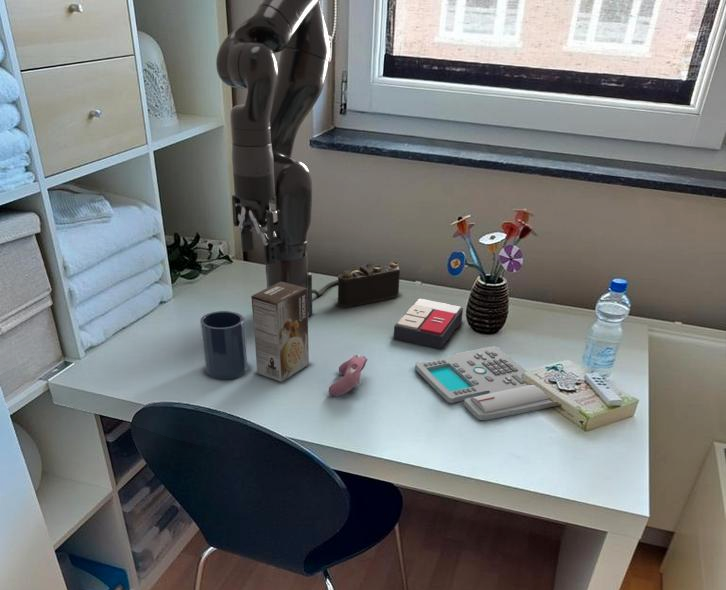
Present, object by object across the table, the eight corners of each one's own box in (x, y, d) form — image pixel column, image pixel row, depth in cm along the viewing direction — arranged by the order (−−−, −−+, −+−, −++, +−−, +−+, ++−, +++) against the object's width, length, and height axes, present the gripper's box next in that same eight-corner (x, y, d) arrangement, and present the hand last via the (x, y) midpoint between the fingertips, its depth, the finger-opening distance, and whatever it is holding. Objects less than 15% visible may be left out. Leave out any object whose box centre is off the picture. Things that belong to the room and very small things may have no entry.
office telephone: (565, 393, 126) (473, 414, 119) (562, 405, 127) (471, 426, 120) (496, 339, 142) (412, 355, 135) (494, 351, 144) (410, 366, 137)
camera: (387, 287, 170) (389, 255, 165) (402, 297, 165) (404, 264, 160) (329, 299, 163) (329, 266, 158) (343, 309, 158) (343, 275, 154)
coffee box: (284, 356, 139) (281, 279, 129) (309, 364, 136) (308, 287, 126) (255, 373, 133) (250, 294, 123) (281, 383, 130) (278, 303, 120)
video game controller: (346, 406, 127) (364, 378, 123) (325, 393, 126) (342, 365, 122) (357, 381, 135) (374, 354, 130) (337, 369, 134) (354, 342, 130)
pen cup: (233, 356, 138) (228, 307, 132) (255, 371, 133) (252, 321, 127) (198, 367, 134) (192, 317, 127) (220, 383, 129) (214, 332, 123)
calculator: (393, 322, 145) (418, 295, 155) (392, 341, 147) (416, 312, 158) (442, 333, 141) (464, 304, 152) (440, 351, 144) (462, 322, 155)
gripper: (291, 175, 123) (294, 264, 133) (250, 159, 131) (256, 243, 141) (256, 181, 119) (261, 271, 129) (216, 163, 127) (224, 250, 137)
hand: (258, 256), depth 135 cm, fingers open, 8 cm apart
